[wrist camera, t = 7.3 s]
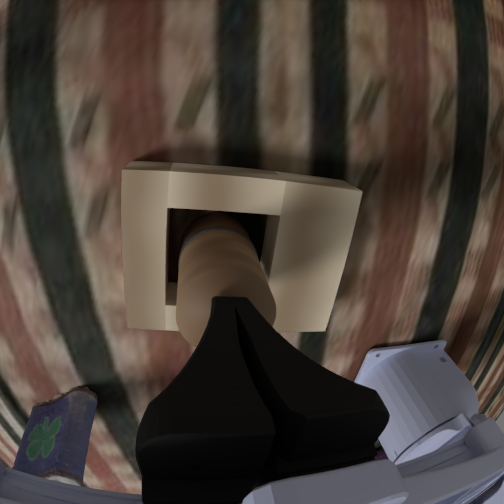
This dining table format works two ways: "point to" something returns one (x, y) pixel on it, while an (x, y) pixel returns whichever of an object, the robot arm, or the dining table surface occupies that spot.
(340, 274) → the board
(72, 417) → the flask
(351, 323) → the dining table surface
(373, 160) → the dining table surface
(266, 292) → the peg
